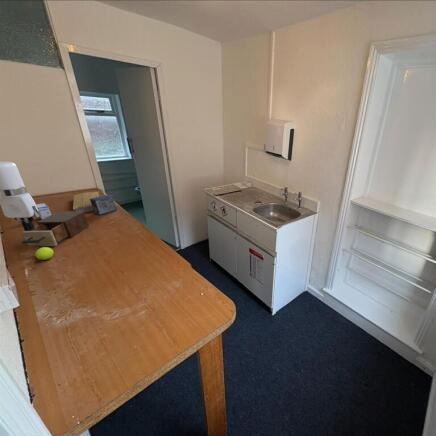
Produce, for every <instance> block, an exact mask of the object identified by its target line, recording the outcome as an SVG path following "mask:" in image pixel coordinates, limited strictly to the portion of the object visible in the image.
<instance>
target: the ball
mask: <svg viewBox="0 0 436 436" xmlns="http://www.w3.org/2000/svg"><path fill="white" fill-rule="evenodd" d="M54 254H55V253H54V250H53V249H52V248H51V247H49V246H42V247H39V248H38V249H37V250H36V251H35V253H34V255H35V257H36V259H38V260H40V261H46V260H49V259H51V258H53V256H54Z"/></svg>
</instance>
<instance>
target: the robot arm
mask: <svg viewBox="0 0 436 436" xmlns="http://www.w3.org/2000/svg"><path fill="white" fill-rule="evenodd" d="M36 205H37V203H36V202H35V200H34V198H33V197H32V196H31V194H30V193H29V192H28V190H27V188H26V186H25V182H24V180H23V178H22V176H21V173H20V171H19V169H18V166H17V165H16V163H15V162H13V161H0V208H1V210H2V214H4V216H5V217H6V218H8V219H12V220H16V221H17V222H18V223H19V224H21V226H22V228H23V231H31V230H33V229H35V227H36V226H35V225H34V220H35V219H38V218H40V216H39V215H38V213H39V211H38V208H37V206H36Z"/></svg>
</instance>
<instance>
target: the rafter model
mask: <svg viewBox="0 0 436 436" xmlns="http://www.w3.org/2000/svg"><path fill="white" fill-rule="evenodd" d="M99 196H100V192H99V191H90V192H88V191H87V192H82V193H76V194H73V206H72V210H74V211H84V213H89V212H94V210H93V207H92V204H91V201H90V199H91V198H95V197H99Z"/></svg>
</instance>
